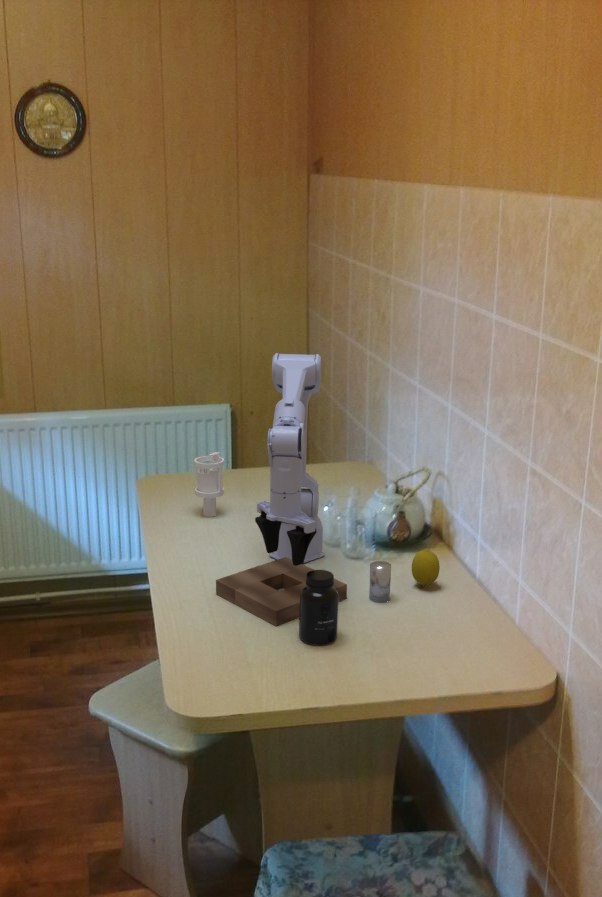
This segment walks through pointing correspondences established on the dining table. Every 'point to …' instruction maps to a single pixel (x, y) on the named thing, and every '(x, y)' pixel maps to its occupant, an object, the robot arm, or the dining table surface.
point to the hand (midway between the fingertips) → (285, 557)
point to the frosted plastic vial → (380, 581)
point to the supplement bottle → (318, 608)
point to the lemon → (425, 567)
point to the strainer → (209, 481)
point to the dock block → (270, 590)
